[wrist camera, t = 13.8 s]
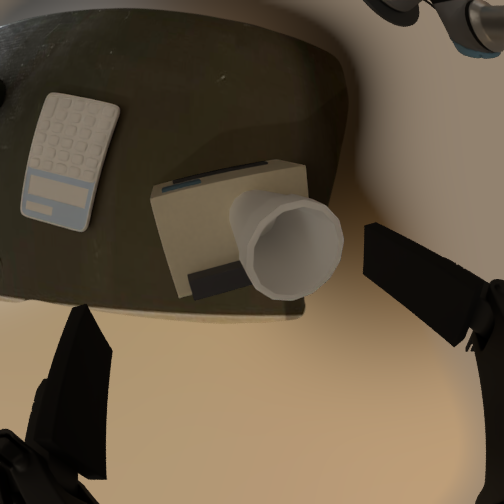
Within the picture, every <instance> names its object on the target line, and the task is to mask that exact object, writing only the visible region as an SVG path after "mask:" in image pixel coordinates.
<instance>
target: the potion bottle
mask: <svg viewBox="0 0 504 504" xmlns="http://www.w3.org/2000/svg"><path fill="white" fill-rule="evenodd" d="M4 96H5V85H4V83H3V81H1V80H0V106H1V104H2V102H3V100H4Z"/></svg>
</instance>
